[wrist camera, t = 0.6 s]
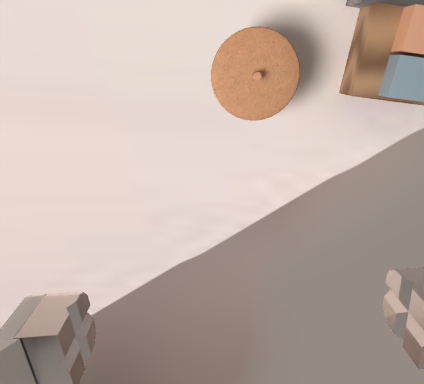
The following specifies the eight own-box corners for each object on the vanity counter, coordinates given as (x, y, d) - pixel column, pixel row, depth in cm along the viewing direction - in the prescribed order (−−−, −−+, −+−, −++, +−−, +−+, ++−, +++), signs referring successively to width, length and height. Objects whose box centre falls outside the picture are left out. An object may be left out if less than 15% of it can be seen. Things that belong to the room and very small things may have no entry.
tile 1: (403, 7, 41) (415, 4, 38) (443, 13, 41) (457, 10, 39) (390, 51, 43) (401, 51, 40) (428, 56, 43) (441, 56, 41)
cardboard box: (360, 7, 45) (376, 2, 41) (446, 20, 45) (470, 16, 41) (339, 92, 49) (351, 95, 44) (418, 103, 49) (437, 107, 45)
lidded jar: (291, 101, 49) (310, 110, 40) (220, 120, 50) (223, 132, 41) (278, 22, 45) (295, 13, 37) (202, 43, 46) (200, 40, 37)
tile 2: (389, 55, 43) (400, 54, 40) (427, 60, 43) (440, 60, 41) (378, 95, 45) (387, 97, 42) (414, 100, 45) (425, 102, 42)
